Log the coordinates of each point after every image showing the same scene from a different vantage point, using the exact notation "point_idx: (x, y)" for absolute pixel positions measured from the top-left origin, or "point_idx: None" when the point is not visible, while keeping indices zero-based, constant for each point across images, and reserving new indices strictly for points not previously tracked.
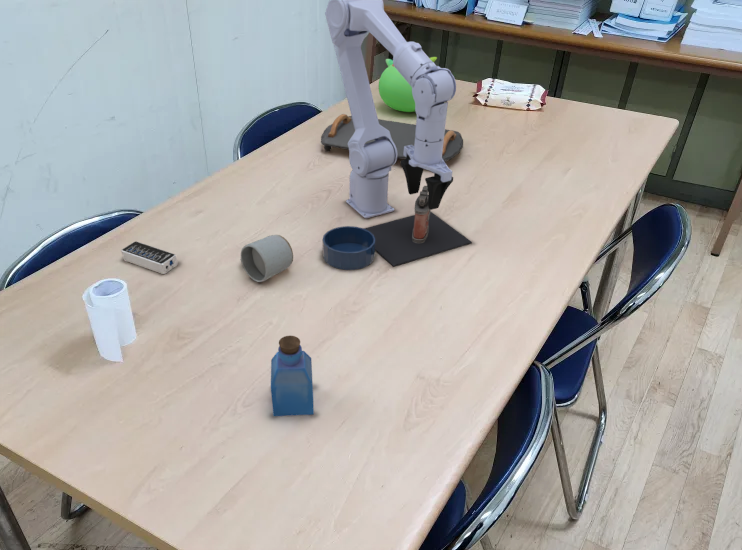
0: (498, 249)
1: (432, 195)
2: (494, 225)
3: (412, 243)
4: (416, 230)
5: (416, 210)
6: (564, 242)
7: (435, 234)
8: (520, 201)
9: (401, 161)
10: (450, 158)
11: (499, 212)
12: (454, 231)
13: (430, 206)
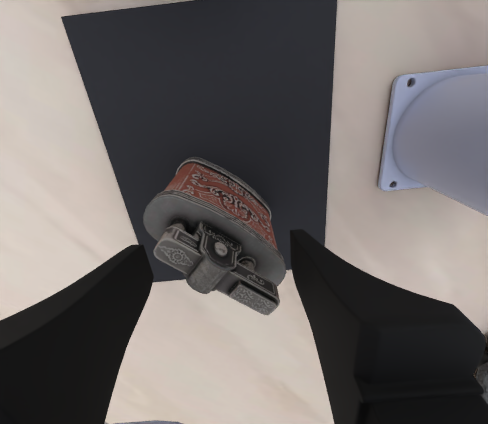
0: None
1: (58, 295)
2: (211, 342)
3: (183, 149)
4: (179, 172)
5: (163, 195)
6: (120, 396)
7: None
8: (273, 403)
9: (465, 335)
10: None
11: (253, 366)
12: None
13: (120, 252)
